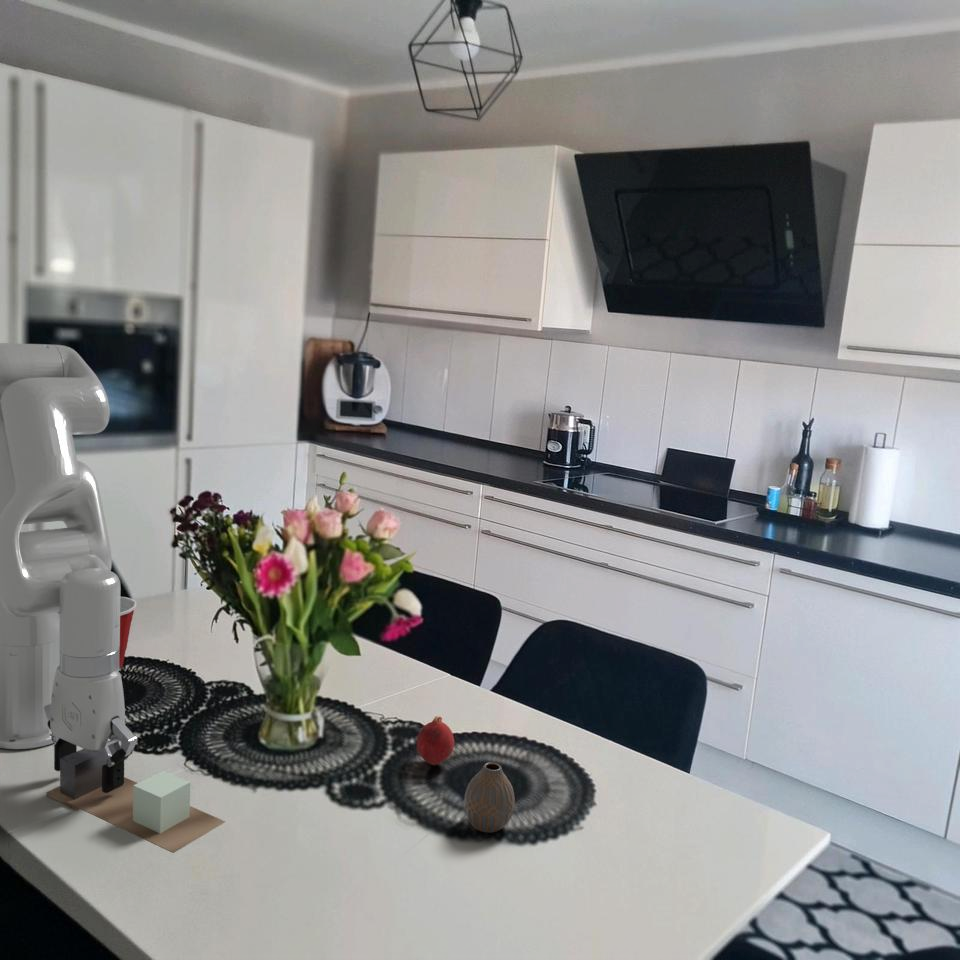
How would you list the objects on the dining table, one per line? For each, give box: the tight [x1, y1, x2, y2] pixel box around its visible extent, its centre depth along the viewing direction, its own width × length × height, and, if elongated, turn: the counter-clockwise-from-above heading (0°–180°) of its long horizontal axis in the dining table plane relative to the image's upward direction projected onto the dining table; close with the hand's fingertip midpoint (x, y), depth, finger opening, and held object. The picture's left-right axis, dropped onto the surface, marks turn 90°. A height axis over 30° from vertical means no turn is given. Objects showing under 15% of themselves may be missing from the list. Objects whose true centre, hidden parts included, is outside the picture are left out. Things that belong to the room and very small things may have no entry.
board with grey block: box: [45, 745, 226, 854], centre depth 128 cm, size 24×9×6 cm, turn 61°
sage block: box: [133, 770, 191, 833], centre depth 125 cm, size 5×5×5 cm
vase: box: [463, 762, 516, 833], centre depth 131 cm, size 7×7×9 cm
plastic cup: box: [119, 596, 138, 670], centre depth 173 cm, size 11×11×12 cm
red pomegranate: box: [416, 715, 455, 766], centre depth 147 cm, size 6×6×8 cm
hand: (88, 777), depth 132 cm, fingers open, 9 cm apart
